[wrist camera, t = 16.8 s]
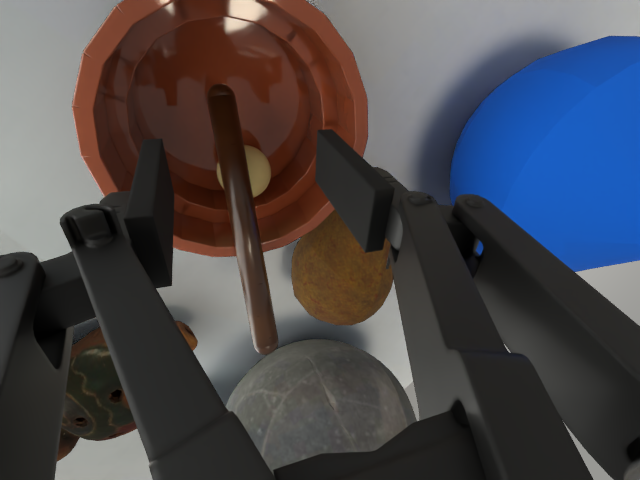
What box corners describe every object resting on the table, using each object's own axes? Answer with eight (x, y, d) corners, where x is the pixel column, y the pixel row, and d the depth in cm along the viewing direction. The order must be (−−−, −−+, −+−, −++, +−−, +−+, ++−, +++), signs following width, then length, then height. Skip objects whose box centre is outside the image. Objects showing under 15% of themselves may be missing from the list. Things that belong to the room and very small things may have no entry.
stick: (198, 84, 19) (250, 358, 22) (221, 77, 18) (272, 360, 21) (216, 90, 21) (263, 346, 23) (238, 83, 20) (284, 347, 23)
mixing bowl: (47, 118, 20) (4, 161, 15) (205, -102, 17) (216, -139, 12) (240, 237, 29) (253, 289, 24) (367, 106, 26) (411, 135, 21)
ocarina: (-3, 371, 29) (-53, 468, 23) (144, 269, 29) (137, 337, 23) (94, 411, 35) (76, 498, 28) (217, 327, 35) (227, 394, 28)
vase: (501, 237, 40) (684, 379, 26) (380, 203, 32) (552, 388, 17) (623, 80, 32) (988, 156, 18) (505, -24, 24) (1030, -41, 9)
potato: (403, 196, 32) (461, 252, 25) (334, 288, 36) (369, 356, 30) (333, 159, 28) (382, 215, 21) (264, 269, 32) (287, 345, 25)
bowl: (284, 427, 50) (314, 558, 38) (167, 387, 37) (161, 568, 26) (396, 347, 47) (465, 464, 36) (312, 275, 34) (378, 420, 23)
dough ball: (235, 139, 25) (202, 176, 24) (247, 127, 21) (208, 170, 21) (272, 173, 26) (242, 209, 25) (288, 168, 23) (254, 209, 22)
